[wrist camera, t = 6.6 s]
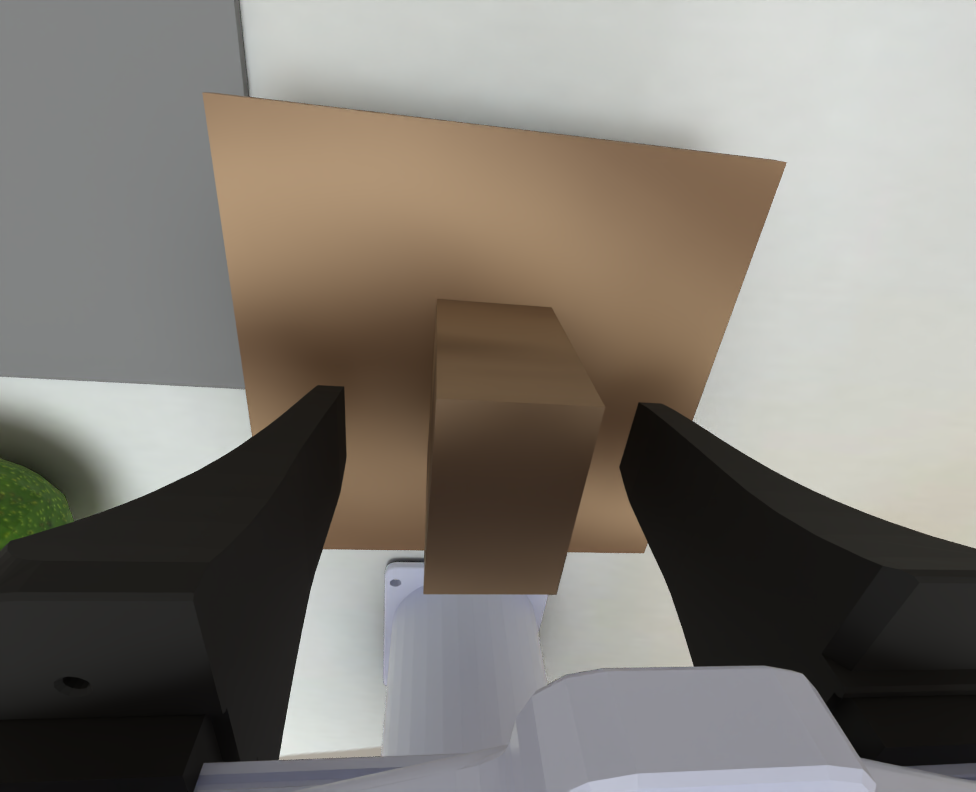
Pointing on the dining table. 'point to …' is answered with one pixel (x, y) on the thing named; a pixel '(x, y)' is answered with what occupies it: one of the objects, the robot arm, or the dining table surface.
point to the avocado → (28, 503)
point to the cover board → (478, 236)
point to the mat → (115, 191)
